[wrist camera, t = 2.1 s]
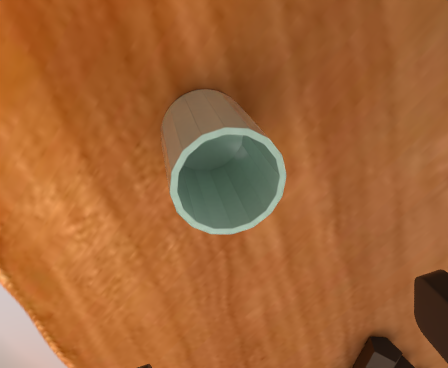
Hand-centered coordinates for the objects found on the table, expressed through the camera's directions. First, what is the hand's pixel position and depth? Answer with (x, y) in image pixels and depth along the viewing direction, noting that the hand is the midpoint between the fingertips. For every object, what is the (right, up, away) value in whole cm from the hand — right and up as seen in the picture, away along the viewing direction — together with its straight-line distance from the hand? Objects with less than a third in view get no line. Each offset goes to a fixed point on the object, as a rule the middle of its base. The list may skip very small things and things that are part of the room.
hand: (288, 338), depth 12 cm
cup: (-3, +8, +18) cm, 20 cm away
